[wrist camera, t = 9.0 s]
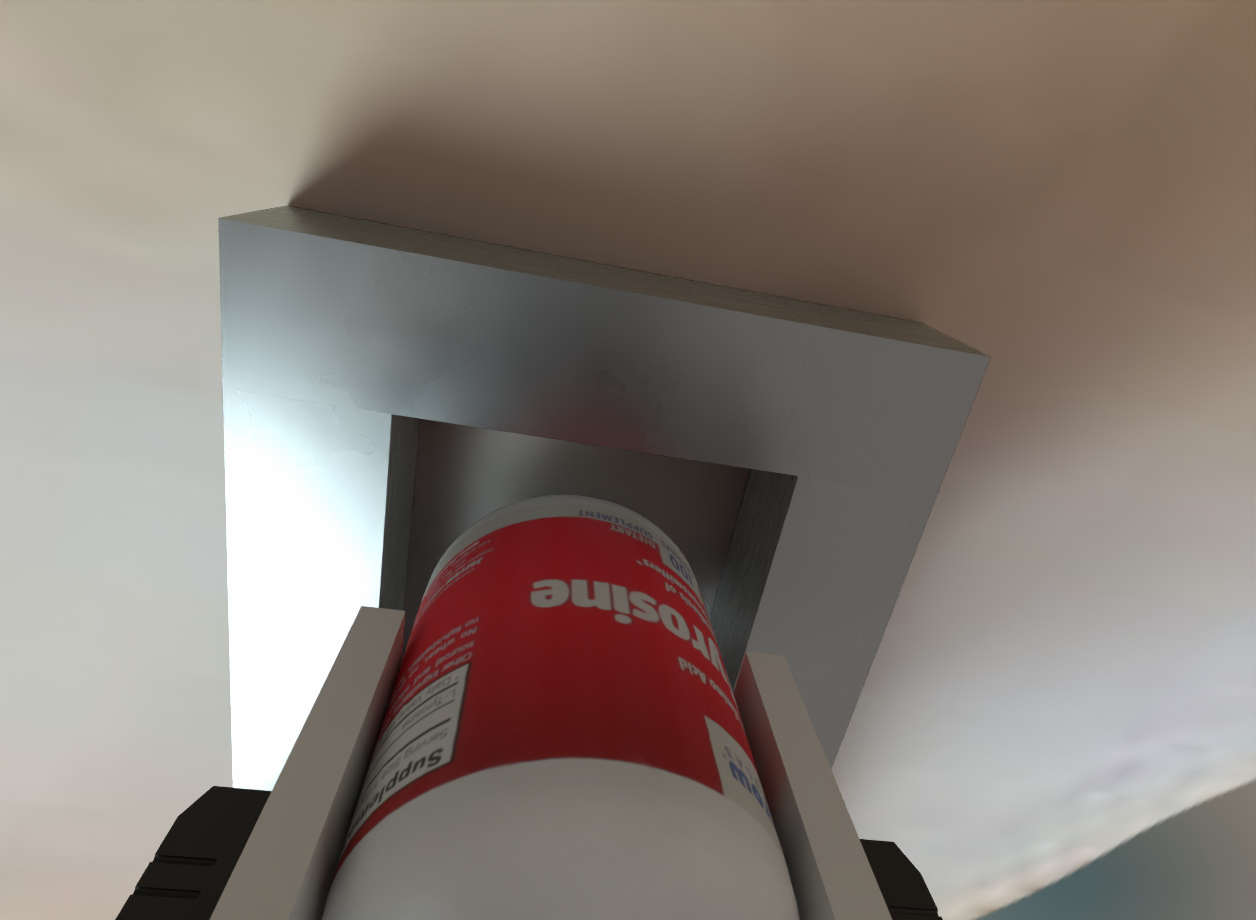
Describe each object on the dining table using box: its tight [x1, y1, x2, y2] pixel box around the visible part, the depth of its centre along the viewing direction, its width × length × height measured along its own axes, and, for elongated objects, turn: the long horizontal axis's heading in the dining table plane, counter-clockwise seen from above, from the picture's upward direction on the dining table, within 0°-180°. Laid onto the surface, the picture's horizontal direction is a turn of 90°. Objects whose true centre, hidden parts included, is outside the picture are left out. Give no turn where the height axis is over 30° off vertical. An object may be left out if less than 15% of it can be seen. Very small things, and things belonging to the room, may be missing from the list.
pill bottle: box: [321, 494, 800, 920], centre depth 11 cm, size 6×6×11 cm
